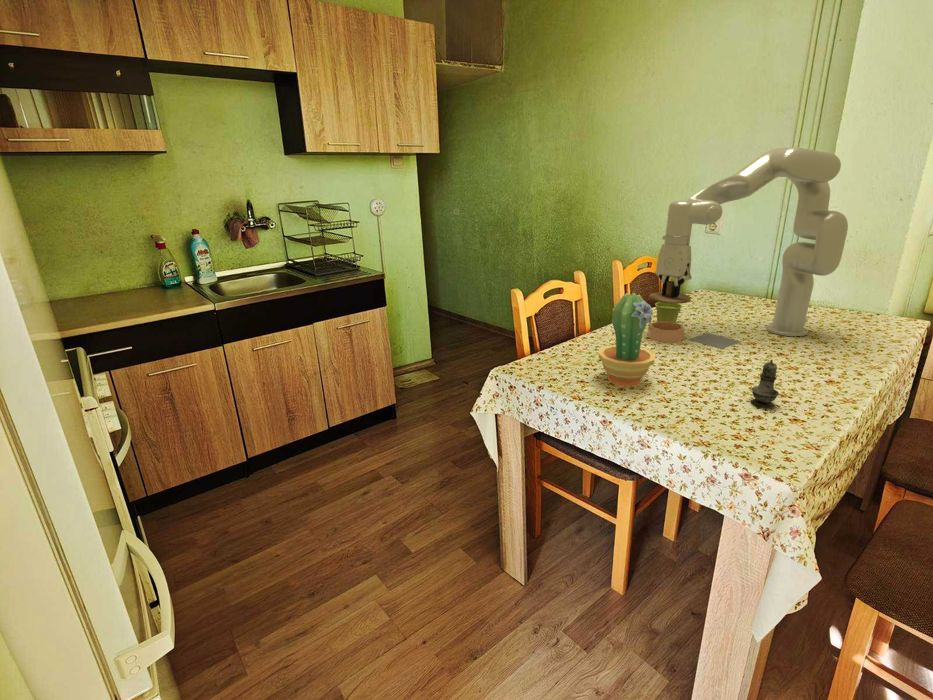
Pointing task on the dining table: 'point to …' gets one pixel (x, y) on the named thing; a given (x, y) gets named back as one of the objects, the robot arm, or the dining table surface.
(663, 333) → the bowl
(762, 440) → the dining table surface
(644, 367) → the potted cactus
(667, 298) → the lid
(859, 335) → the dining table surface
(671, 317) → the plant pot
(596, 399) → the dining table surface
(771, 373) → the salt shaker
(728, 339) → the mat
